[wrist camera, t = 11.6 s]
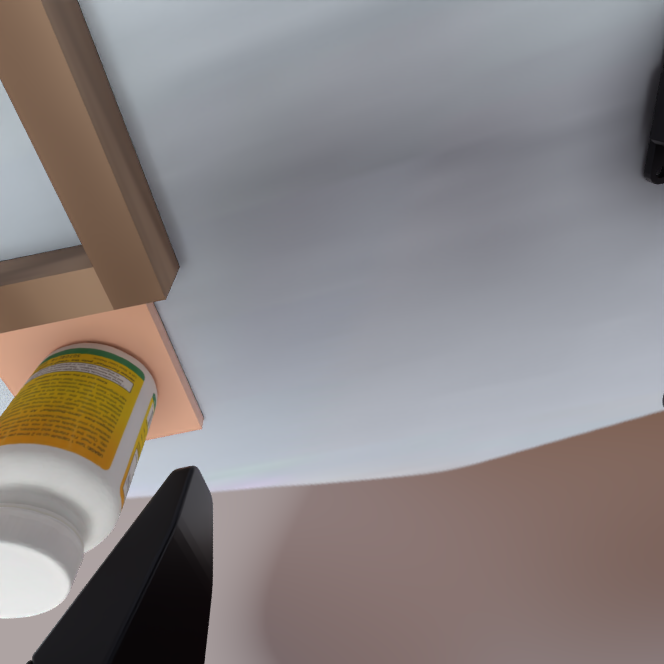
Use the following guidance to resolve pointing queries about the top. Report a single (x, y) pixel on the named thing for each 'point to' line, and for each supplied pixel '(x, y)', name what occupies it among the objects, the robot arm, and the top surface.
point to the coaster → (121, 333)
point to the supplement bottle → (67, 468)
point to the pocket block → (78, 175)
